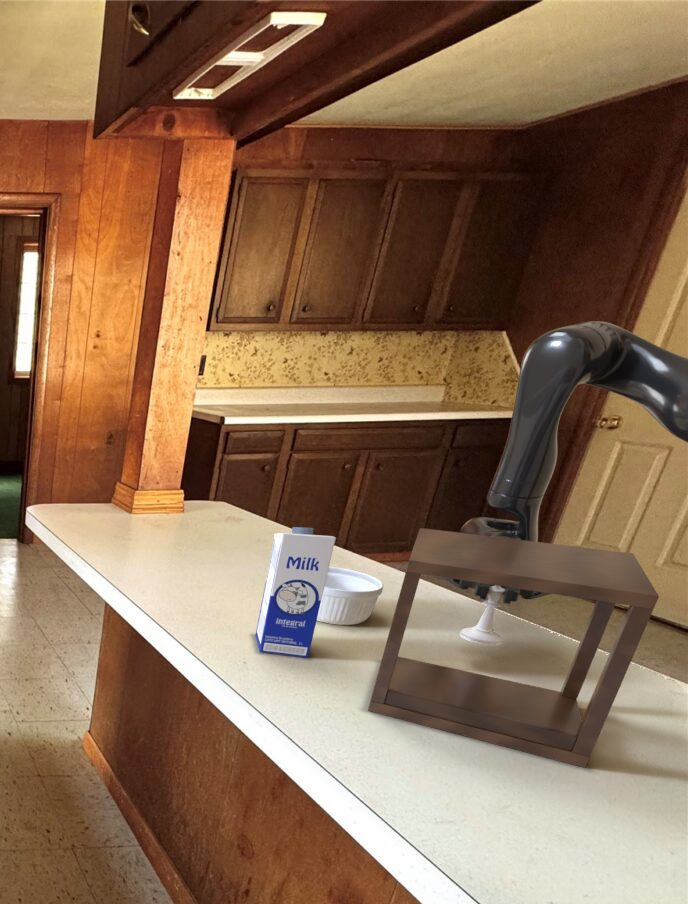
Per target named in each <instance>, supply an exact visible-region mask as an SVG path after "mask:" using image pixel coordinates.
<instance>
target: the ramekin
mask: <svg viewBox="0 0 688 904" xmlns="http://www.w3.org/2000/svg"><path fill="white" fill-rule="evenodd" d="M383 589H384V583H383V582H382V581H381V580H380V579H379V578H377V577H375V576H373V575H370V574H367V573H365V572H362V571H357V570H353V569H349V568H343V567H336V566H329V569H328V573H327V577H326V582H325V586H324V590H323V595H322V599H321V603H320V608H319V612H318V616H317V621H316V622H321V623H324V624H325V623H326V624H331V625H339V626H340V625H341V626H354V625H359V624H362V623H363V622H365V621H366V620H367V619H369V618H370V617H371V615H372V612H374V608H375V606H376V604H377V601H378V598H379V596H381V595H382V593H383Z"/></svg>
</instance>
